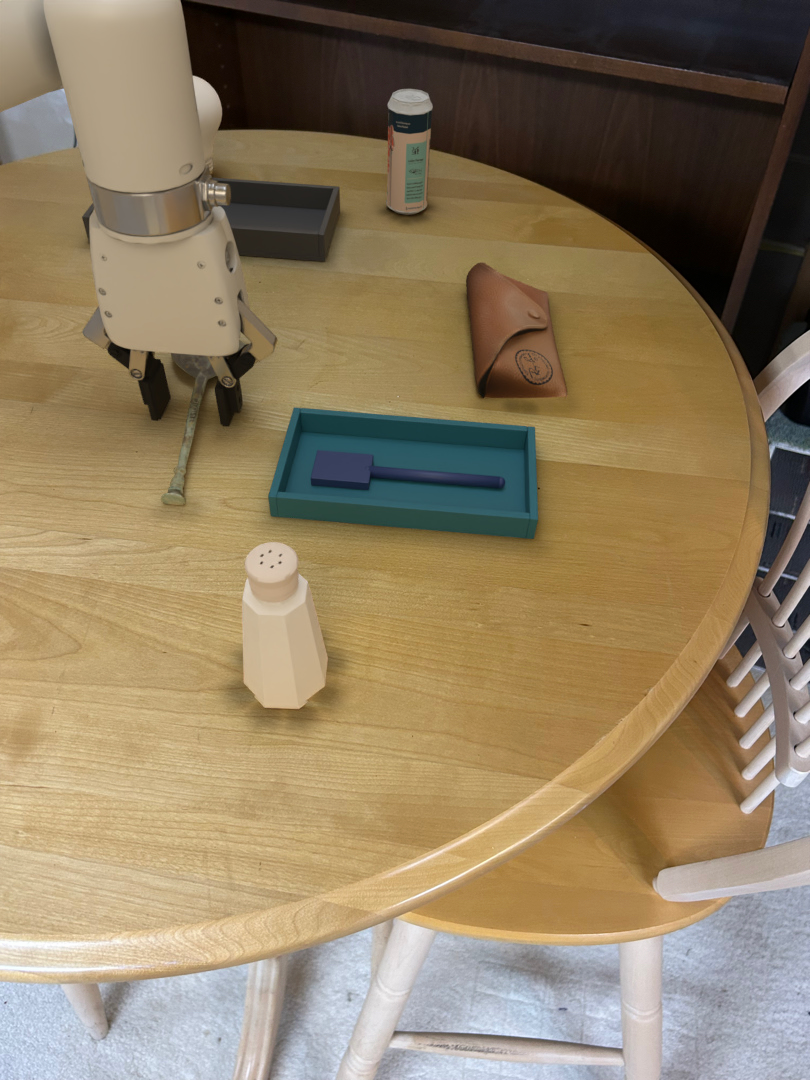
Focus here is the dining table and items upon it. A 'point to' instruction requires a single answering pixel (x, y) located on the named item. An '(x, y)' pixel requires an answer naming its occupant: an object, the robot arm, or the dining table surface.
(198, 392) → the soupspoon
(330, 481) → the navy spatula
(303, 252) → the grey tray
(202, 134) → the light bulb
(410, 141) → the beer can
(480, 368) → the sunglasses case
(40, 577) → the dining table surface
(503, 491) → the teal tray
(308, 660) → the pepper shaker
